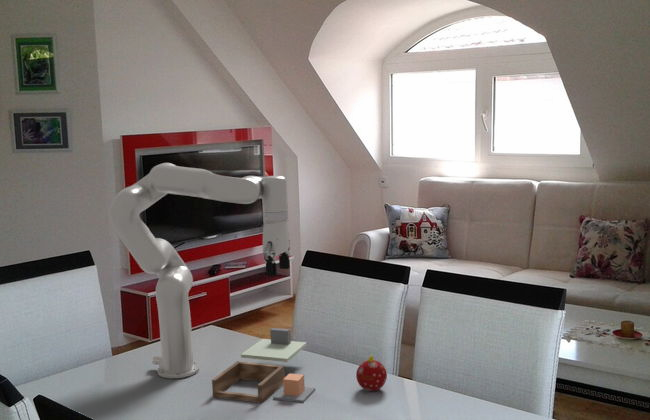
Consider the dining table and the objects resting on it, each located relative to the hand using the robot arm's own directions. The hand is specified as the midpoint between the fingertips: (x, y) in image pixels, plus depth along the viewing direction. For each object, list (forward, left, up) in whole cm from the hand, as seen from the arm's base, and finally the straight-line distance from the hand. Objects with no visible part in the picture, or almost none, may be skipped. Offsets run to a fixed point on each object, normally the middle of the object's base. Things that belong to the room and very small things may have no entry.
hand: (278, 272), depth 218 cm
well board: (-2, -19, -30) cm, 36 cm away
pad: (+12, -19, -30) cm, 38 cm away
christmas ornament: (+32, -10, -31) cm, 45 cm away
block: (+12, -19, -30) cm, 37 cm away
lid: (-2, -1, -25) cm, 25 cm away
